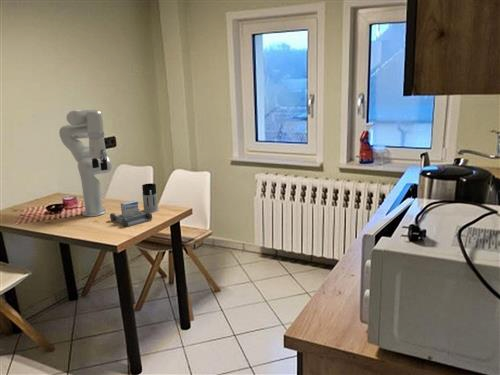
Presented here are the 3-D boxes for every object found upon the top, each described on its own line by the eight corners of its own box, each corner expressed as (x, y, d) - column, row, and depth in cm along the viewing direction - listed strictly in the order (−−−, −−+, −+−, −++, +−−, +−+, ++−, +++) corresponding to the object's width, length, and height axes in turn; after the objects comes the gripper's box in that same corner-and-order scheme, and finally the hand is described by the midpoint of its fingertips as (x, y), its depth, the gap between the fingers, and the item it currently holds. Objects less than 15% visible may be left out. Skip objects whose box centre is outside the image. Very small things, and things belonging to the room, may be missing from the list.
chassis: (110, 220, 224) (109, 213, 223) (136, 213, 235) (135, 206, 234) (126, 227, 213) (125, 219, 212) (152, 220, 223) (151, 212, 222)
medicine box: (126, 220, 219) (124, 204, 217) (121, 218, 222) (120, 203, 220) (139, 217, 225) (138, 201, 223) (135, 215, 228) (133, 200, 226)
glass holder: (157, 207, 246) (155, 182, 242) (160, 214, 233) (158, 188, 229) (142, 209, 243) (140, 184, 240) (144, 216, 230) (142, 189, 227)
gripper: (81, 135, 216) (85, 167, 220) (96, 137, 204) (100, 172, 208) (95, 133, 221) (99, 165, 225) (111, 136, 209) (114, 170, 213)
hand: (100, 168), depth 216 cm, fingers open, 9 cm apart
